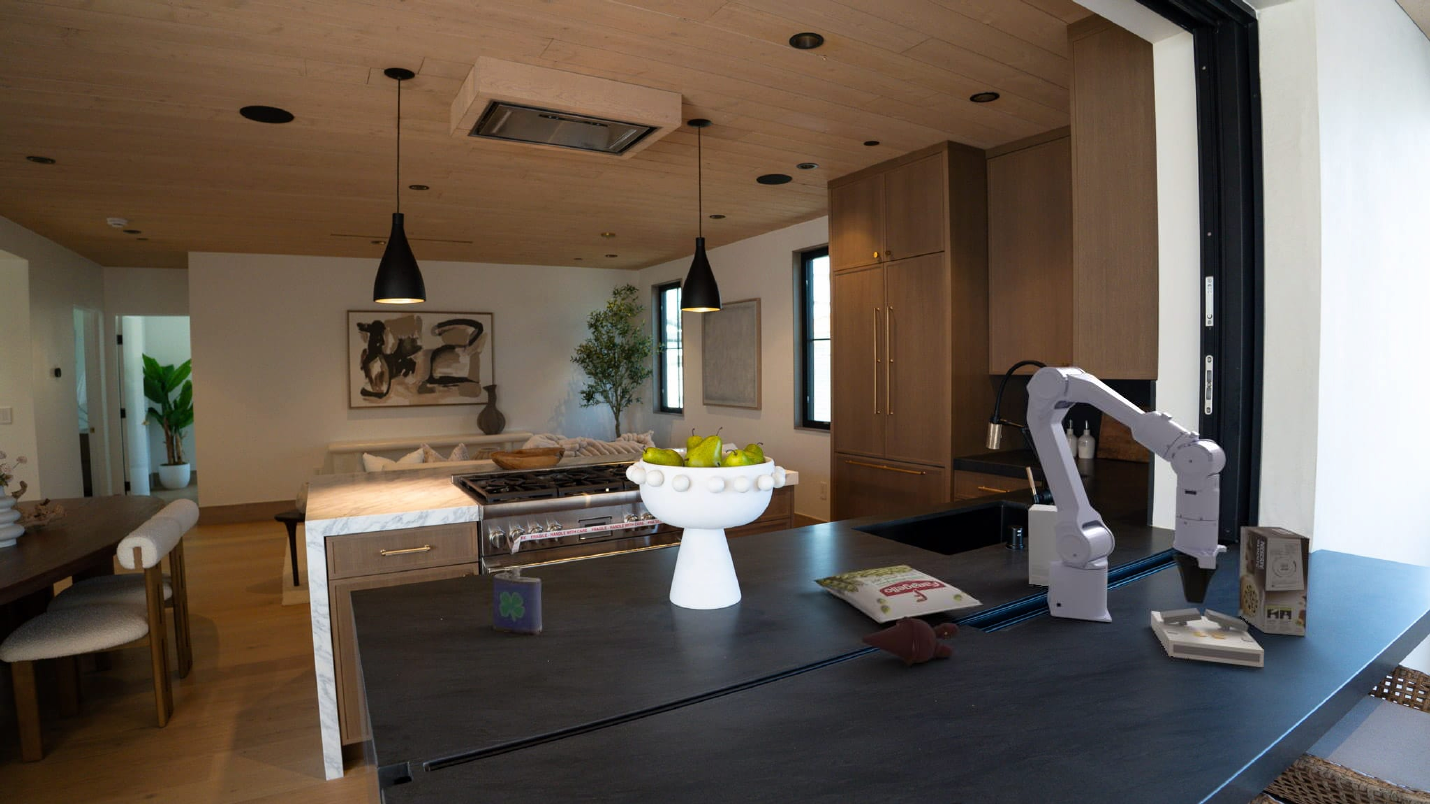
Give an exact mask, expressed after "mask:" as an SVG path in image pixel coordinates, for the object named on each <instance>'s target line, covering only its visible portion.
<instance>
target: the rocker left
mask: <svg viewBox="0 0 1430 804" xmlns="http://www.w3.org/2000/svg"><path fill="white" fill-rule="evenodd" d="M1159 612H1160V615H1161V619H1162V620H1163V622H1164V623H1165V624H1167V623H1176V622H1178V623H1179V625H1180V626H1183V625H1187V621H1194V620H1202V618H1201V616H1202V614H1201V612H1200V611H1199V610H1198V609H1197V607H1194V608H1185V609H1184V608H1183V609H1175V610H1174V609H1173V610H1168V611H1166V610H1165V611H1159Z"/></svg>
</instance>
